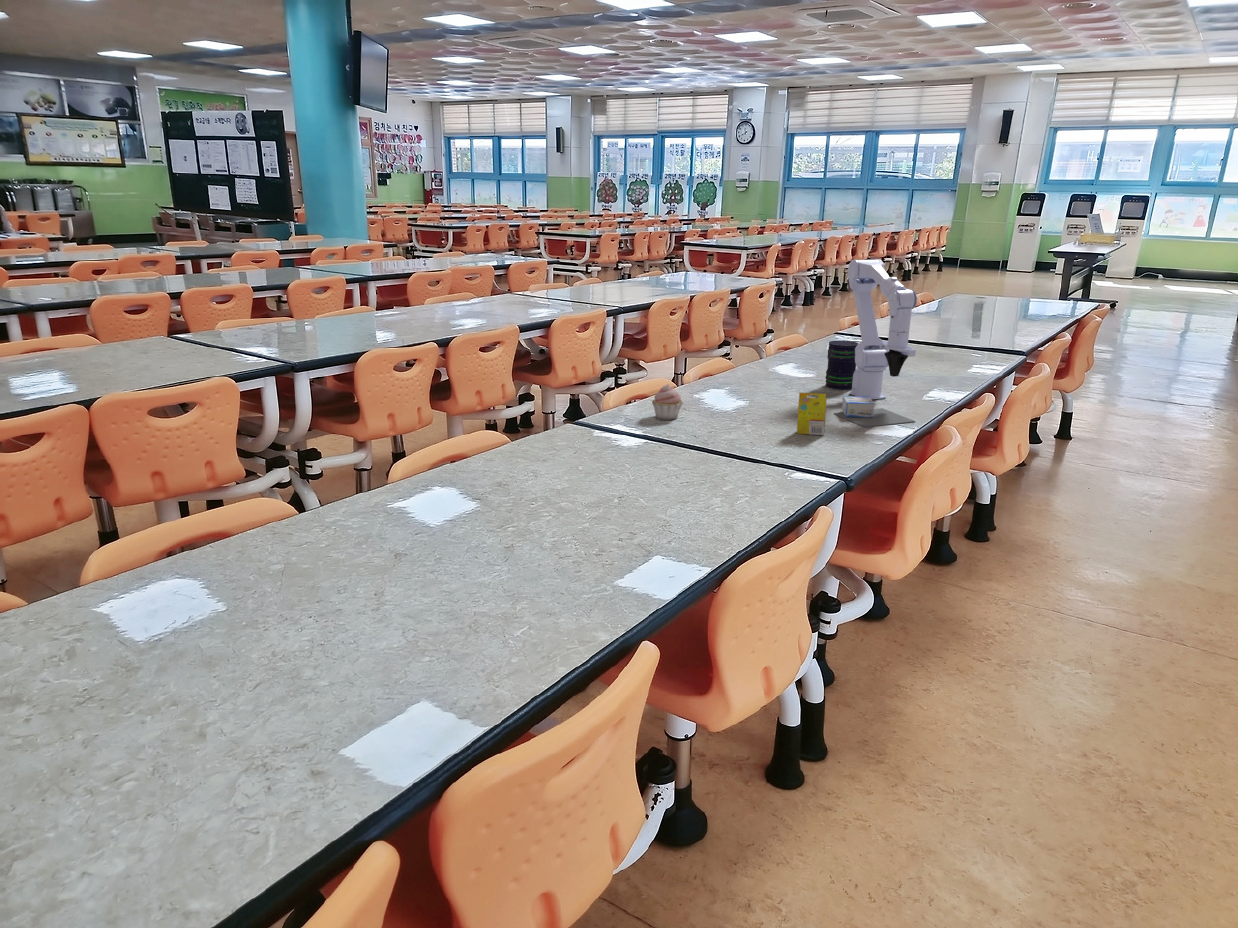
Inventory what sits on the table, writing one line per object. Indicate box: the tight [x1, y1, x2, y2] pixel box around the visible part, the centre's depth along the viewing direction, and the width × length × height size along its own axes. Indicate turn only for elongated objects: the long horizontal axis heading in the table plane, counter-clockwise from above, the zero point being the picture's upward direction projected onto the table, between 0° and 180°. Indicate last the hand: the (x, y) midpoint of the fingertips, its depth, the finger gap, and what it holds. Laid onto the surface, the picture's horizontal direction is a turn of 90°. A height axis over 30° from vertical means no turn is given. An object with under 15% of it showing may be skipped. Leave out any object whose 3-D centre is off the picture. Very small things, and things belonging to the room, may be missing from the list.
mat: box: [833, 407, 916, 428], centre depth 243 cm, size 16×17×1 cm
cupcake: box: [651, 383, 684, 421], centre depth 242 cm, size 9×9×10 cm
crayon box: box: [796, 392, 827, 436], centre depth 226 cm, size 7×3×12 cm, turn 74°
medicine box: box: [841, 395, 875, 418], centre depth 245 cm, size 8×4×9 cm
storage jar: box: [824, 339, 860, 391], centre depth 278 cm, size 10×10×15 cm
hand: (894, 376), depth 251 cm, fingers closed
